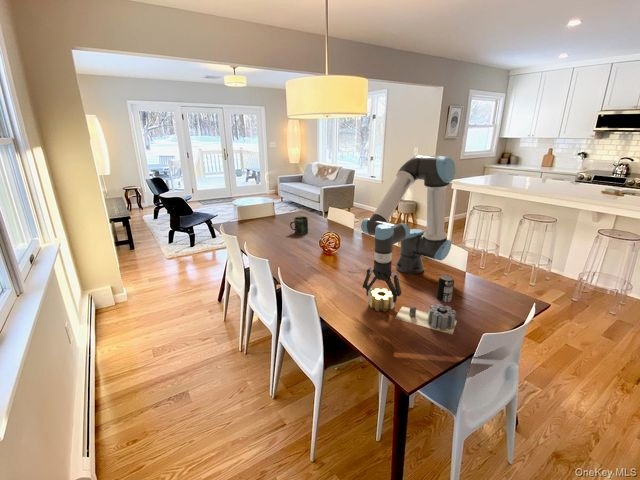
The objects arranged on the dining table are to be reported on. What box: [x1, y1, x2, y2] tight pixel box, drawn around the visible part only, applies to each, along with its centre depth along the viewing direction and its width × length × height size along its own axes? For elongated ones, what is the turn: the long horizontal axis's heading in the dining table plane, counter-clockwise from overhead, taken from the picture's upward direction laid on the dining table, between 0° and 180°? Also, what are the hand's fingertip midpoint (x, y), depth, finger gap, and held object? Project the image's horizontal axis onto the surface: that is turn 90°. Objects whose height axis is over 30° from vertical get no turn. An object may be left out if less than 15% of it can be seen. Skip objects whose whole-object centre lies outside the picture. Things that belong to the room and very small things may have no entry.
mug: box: [289, 215, 309, 235], centre depth 248 cm, size 11×15×12 cm
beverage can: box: [436, 274, 455, 303], centre depth 147 cm, size 7×7×12 cm
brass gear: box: [369, 288, 392, 312], centre depth 144 cm, size 10×10×6 cm
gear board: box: [394, 305, 458, 335], centre depth 132 cm, size 11×23×5 cm, turn 60°
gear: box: [427, 303, 457, 332], centre depth 129 cm, size 10×10×7 cm
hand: (380, 305), depth 145 cm, fingers closed on brass gear, 10 cm apart
